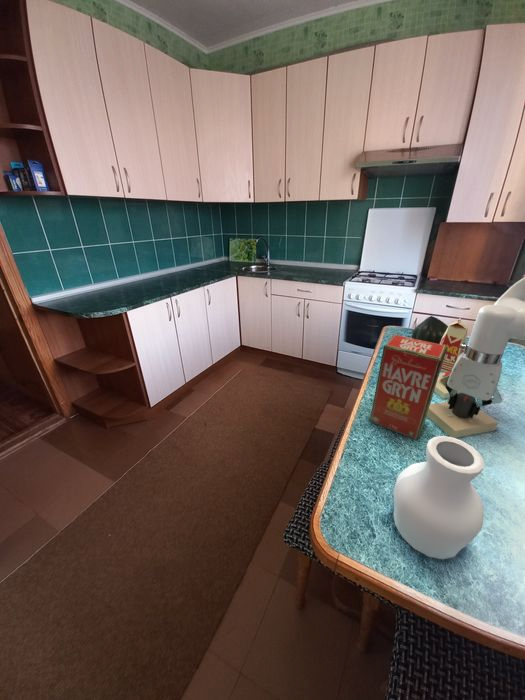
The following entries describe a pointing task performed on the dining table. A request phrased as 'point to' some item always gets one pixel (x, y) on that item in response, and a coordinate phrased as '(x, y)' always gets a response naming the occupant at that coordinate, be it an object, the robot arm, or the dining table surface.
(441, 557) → the vase
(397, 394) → the food packaging
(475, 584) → the dining table surface
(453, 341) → the milk carton
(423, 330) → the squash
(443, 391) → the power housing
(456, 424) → the panel
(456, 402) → the timer dial
